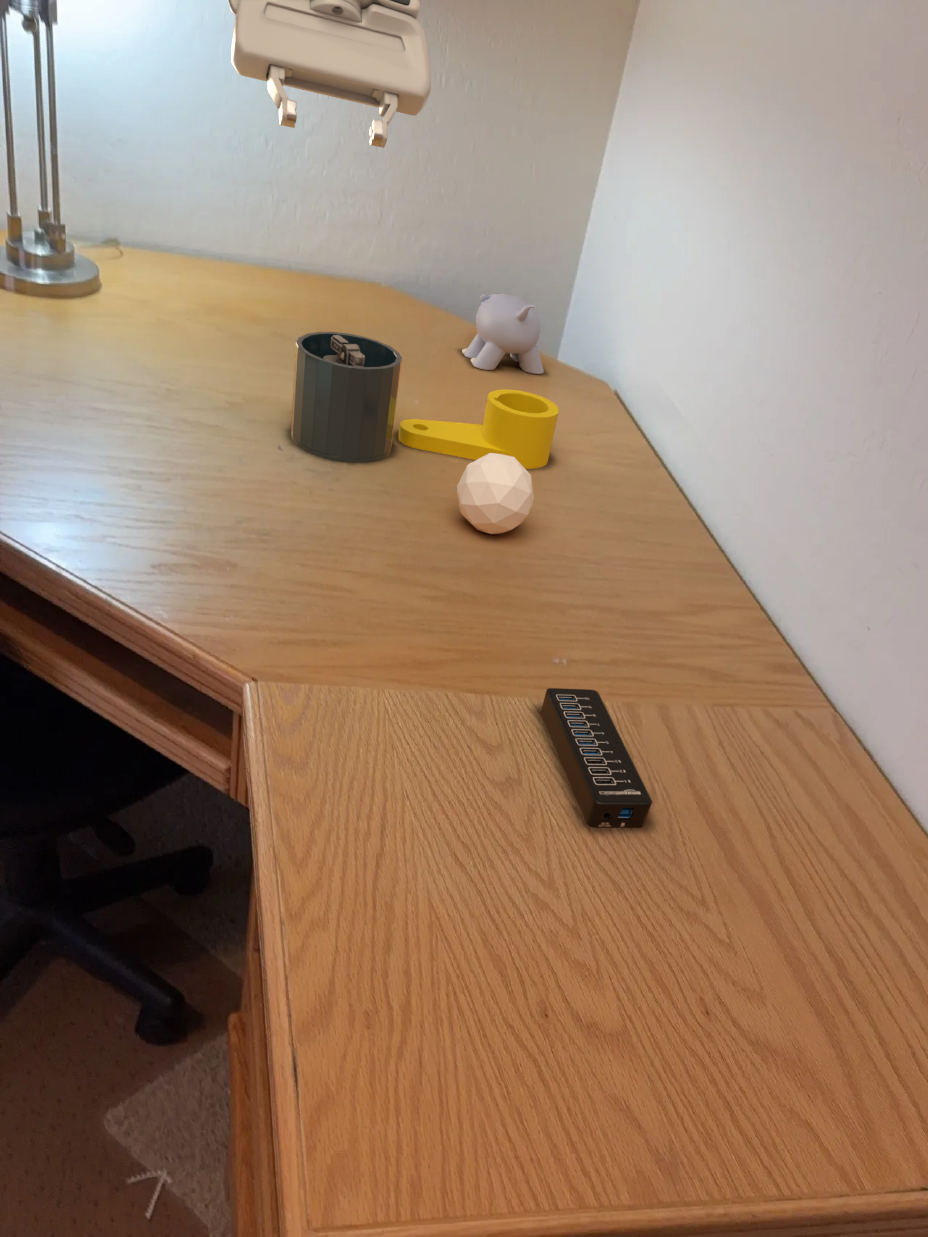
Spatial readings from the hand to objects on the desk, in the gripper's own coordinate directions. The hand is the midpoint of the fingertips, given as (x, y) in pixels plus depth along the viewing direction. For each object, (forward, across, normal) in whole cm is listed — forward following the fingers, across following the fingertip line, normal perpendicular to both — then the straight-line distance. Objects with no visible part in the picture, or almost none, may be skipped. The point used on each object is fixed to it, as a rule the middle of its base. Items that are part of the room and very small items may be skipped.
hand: (334, 133), depth 108 cm
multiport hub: (+67, +10, -36) cm, 77 cm away
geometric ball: (+41, +14, -6) cm, 43 cm away
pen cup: (+28, +2, +10) cm, 30 cm away
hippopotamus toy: (+4, +32, +35) cm, 48 cm away
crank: (+27, +18, +10) cm, 34 cm away
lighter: (+27, +2, +10) cm, 29 cm away
